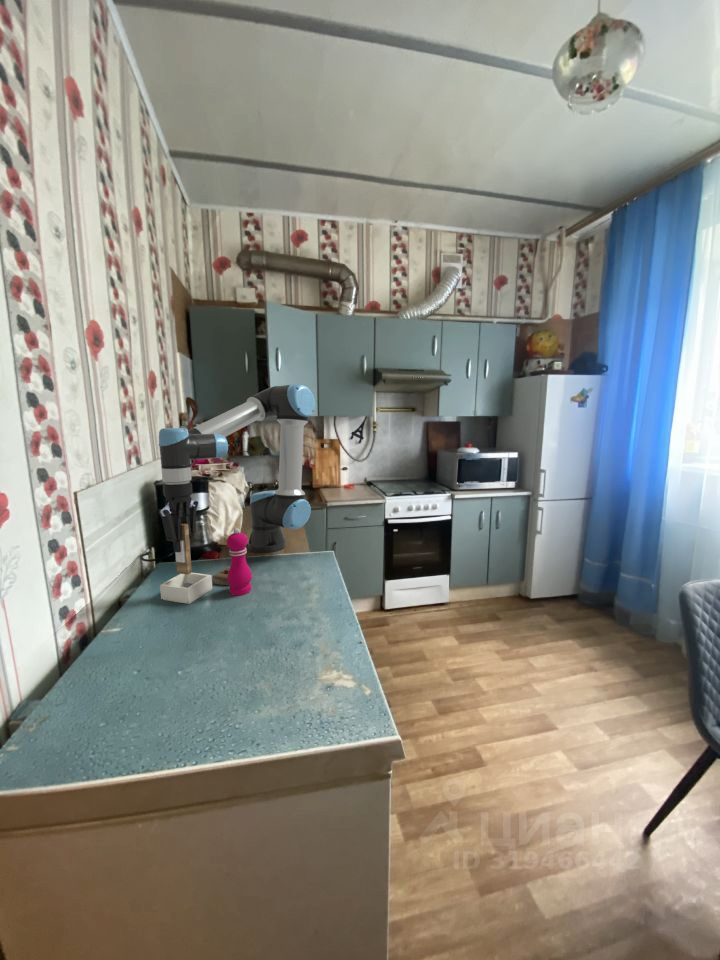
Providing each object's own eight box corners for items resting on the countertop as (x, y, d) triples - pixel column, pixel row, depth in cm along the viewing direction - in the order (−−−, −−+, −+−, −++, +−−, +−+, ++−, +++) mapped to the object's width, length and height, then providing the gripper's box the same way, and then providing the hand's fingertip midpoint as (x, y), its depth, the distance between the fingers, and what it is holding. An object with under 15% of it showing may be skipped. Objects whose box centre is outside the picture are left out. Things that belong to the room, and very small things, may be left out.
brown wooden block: (180, 571, 112) (177, 522, 110) (191, 572, 111) (188, 524, 109) (177, 573, 111) (173, 524, 109) (188, 574, 110) (184, 525, 108)
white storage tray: (186, 584, 119) (185, 571, 118) (212, 588, 116) (211, 575, 115) (161, 599, 109) (159, 584, 109) (189, 604, 106) (187, 589, 106)
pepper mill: (256, 586, 117) (252, 524, 114) (247, 597, 110) (243, 532, 107) (234, 585, 118) (230, 524, 115) (223, 596, 111) (219, 531, 108)
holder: (227, 574, 126) (226, 567, 126) (244, 576, 124) (244, 569, 124) (213, 583, 120) (212, 575, 119) (231, 585, 118) (231, 578, 117)
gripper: (185, 478, 115) (190, 551, 119) (145, 485, 101) (153, 568, 105) (205, 479, 113) (210, 553, 116) (167, 486, 99) (175, 571, 103)
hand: (183, 560), depth 111 cm, fingers closed on brown wooden block, 1 cm apart
